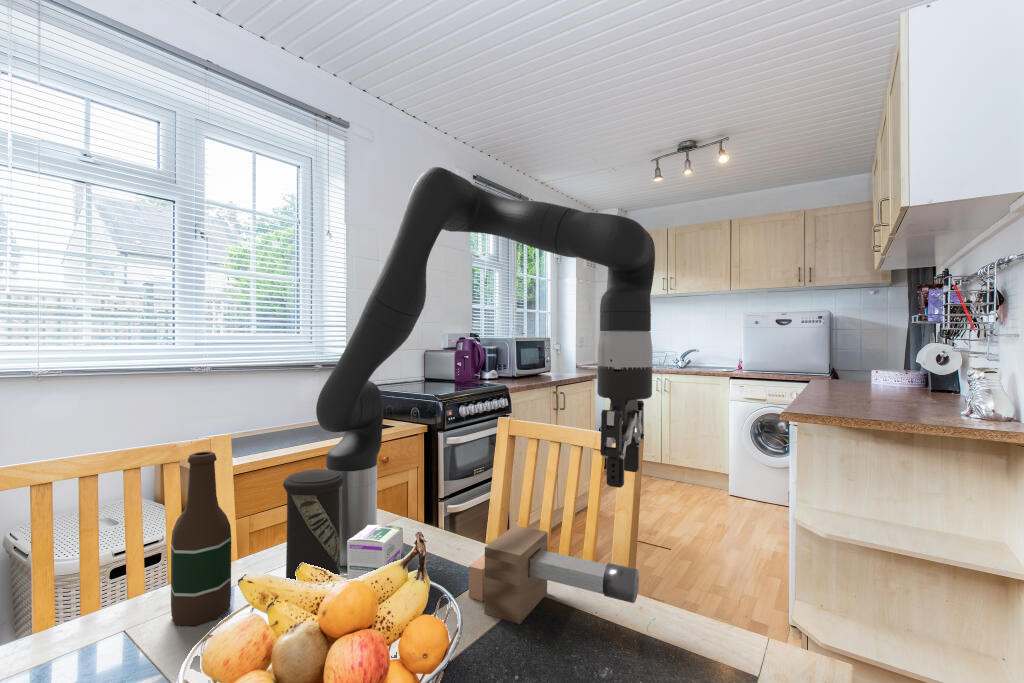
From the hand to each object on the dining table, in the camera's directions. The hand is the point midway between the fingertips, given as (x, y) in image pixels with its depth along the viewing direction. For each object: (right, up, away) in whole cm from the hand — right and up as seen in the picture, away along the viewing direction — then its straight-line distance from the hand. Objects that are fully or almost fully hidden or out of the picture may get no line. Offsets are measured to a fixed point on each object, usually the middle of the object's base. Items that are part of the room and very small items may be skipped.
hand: (623, 478), depth 69 cm
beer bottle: (-62, -22, +4) cm, 66 cm away
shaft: (-8, -17, +4) cm, 19 cm away
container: (-47, -22, +9) cm, 53 cm away
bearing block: (-15, -22, +8) cm, 28 cm away
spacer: (-19, -19, +10) cm, 29 cm away
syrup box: (-35, -22, -1) cm, 41 cm away
